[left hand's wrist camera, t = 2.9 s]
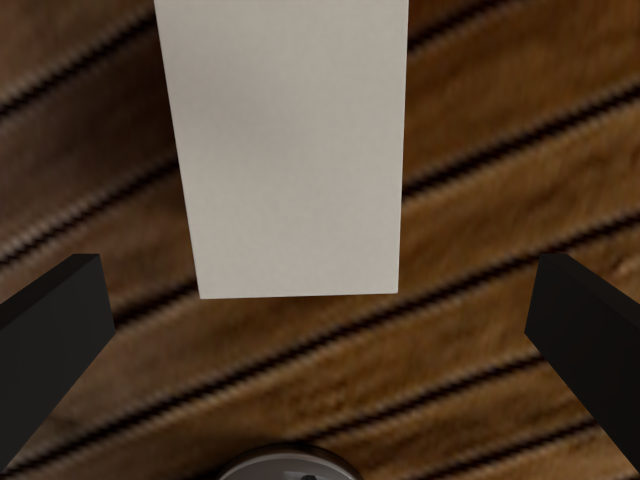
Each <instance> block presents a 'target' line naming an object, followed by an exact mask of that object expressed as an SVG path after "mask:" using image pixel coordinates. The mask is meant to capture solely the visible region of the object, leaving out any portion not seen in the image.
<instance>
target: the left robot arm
mask: <svg viewBox="0 0 640 480" xmlns="http://www.w3.org/2000/svg"><path fill="white" fill-rule="evenodd" d="M115 333H116V332H115V327H114V322H113V317H112V312H111V308H110V303H109V298H108V293H107V288H106V283H105V278H104V274H103V269H102V264H101V259H100V254H73V255H71V256H70V257H68V258H67V259H65V260H64V261H62V262H61V263H60V264H58V265H57V266H55V267H54V268H52V269H51V270H49V271H48V272H47V273H45V274H44V275H42V276H41V277H39V278H38V279H36V280H35V281H33V282H32V283H31V284H29V285H28V286H26V287H25V288H23V289H22V290H20V291H19V292H18V293H16V294H15V295H13V296H12V297H10V298H9V299H7V300H6V301H5V302H3V303H2V304H0V474H1V472H2V471H3V470H4V469H5V467H6V466H7V465H8V464H9V463H10V461H11V460H12V459H13V458H14V457H15V455H16V454H17V453H18V452H19V450H20V449H21V448H22V447H23V446H24V444H25V443H26V442H27V441H28V439H29V438H30V437H31V436H32V435H33V433H34V432H35V431H36V430H37V428H38V427H39V426H40V425H41V424H42V422H43V421H44V420H45V419H46V417H47V416H48V415H49V414H50V413H51V411H52V410H53V409H54V408H55V406H56V405H57V404H58V403H59V402H60V400H61V399H62V398H63V397H64V396H65V394H66V393H67V392H68V391H69V389H70V388H71V387H72V386H73V385H74V383H75V382H76V381H77V380H78V378H79V377H80V376H81V375H82V374H83V372H84V371H85V370H86V369H87V367H88V366H89V365H90V364H91V363H92V361H93V360H94V359H95V358H96V356H97V355H98V354H99V353H100V352H101V350H102V349H103V348H104V347H105V345H106V344H107V343H108V342H109V341H110V339H111V338H112V337H113V336H114V335H115ZM524 333H525V335H526V336H527V337H528V338H529V339H530V341H531V342H532V343H533V344H534V345H535V347H536V348H537V349H538V350H539V352H540V353H541V354H542V355H543V356H544V358H545V359H546V360H547V361H548V363H549V364H550V365H551V366H552V367H553V369H554V370H555V371H556V372H557V374H558V375H559V376H560V377H561V378H562V380H563V381H564V382H565V383H566V385H567V386H568V387H569V388H570V389H571V391H572V392H573V393H574V394H575V396H576V397H577V398H578V399H579V400H580V402H581V403H582V404H583V405H584V406H585V408H586V409H587V410H588V411H589V413H590V414H591V415H592V416H593V417H594V419H595V420H596V421H597V422H598V424H599V425H600V426H601V427H602V428H603V430H604V431H605V432H606V433H607V435H608V436H609V437H610V438H611V439H612V441H613V442H614V443H615V444H616V446H617V447H618V448H619V449H620V450H621V452H622V453H623V454H624V455H625V457H626V458H627V459H628V460H629V461H630V463H631V464H632V465H633V466H634V467H635V469H636V470H637V471H638V472H639V474H640V304H638V303H637V302H635V301H634V300H633V299H631V298H630V297H628V296H627V295H625V294H624V293H622V292H621V291H620V290H618V289H617V288H615V287H614V286H612V285H611V284H609V283H608V282H607V281H605V280H604V279H602V278H601V277H599V276H598V275H596V274H595V273H593V272H592V271H591V270H589V269H588V268H586V267H585V266H583V265H582V264H580V263H579V262H578V261H576V260H575V259H573V258H572V257H570V256H569V255H567V254H540V259H539V264H538V269H537V274H536V278H535V283H534V288H533V293H532V298H531V303H530V308H529V312H528V317H527V322H526V327H525V332H524ZM214 480H363V478H362V477H361V475H360V474H359V473H358V472H357V471H356V470H355V469H354V468H353V467H352V466H351V465H350V464H349V463H347V462H346V461H344V460H343V459H341V458H339V457H337V456H336V455H334V454H331V453H329V452H326V451H324V450H321V449H317V448H313V447H308V446H302V445H288V444H287V445H273V446H267V447H262V448H258V449H255V450H252V451H249V452H247V453H244V454H242V455H240V456H238V457H237V458H235V459H233V460H232V461H231V462H229V463H228V464H227V465H226V466H225V467H224V468H223V469H222V470H221V471H220V472H219V473H218V475H217V476H216V477H215V479H214Z"/></svg>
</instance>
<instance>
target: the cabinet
mask: <svg viewBox="0 0 640 480" xmlns="http://www.w3.org/2000/svg"><path fill="white" fill-rule="evenodd" d="M408 1H409V0H154V5H155V12H156V18H157V25H158V31H159V37H160V44H161V50H162V57H163V63H164V70H165V76H166V82H167V89H168V95H169V102H170V108H171V115H172V121H173V127H174V134H175V140H176V147H177V153H178V160H179V166H180V172H181V179H182V185H183V192H184V198H185V205H186V211H187V218H188V224H189V230H190V237H191V243H192V250H193V256H194V263H195V269H196V275H197V282H198V288H199V295H200V299H215V298H248V297H282V296H315V295H348V294H382V293H397V292H398V270H399V243H400V216H401V189H402V162H403V135H404V108H405V81H406V54H407V27H408Z"/></svg>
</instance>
